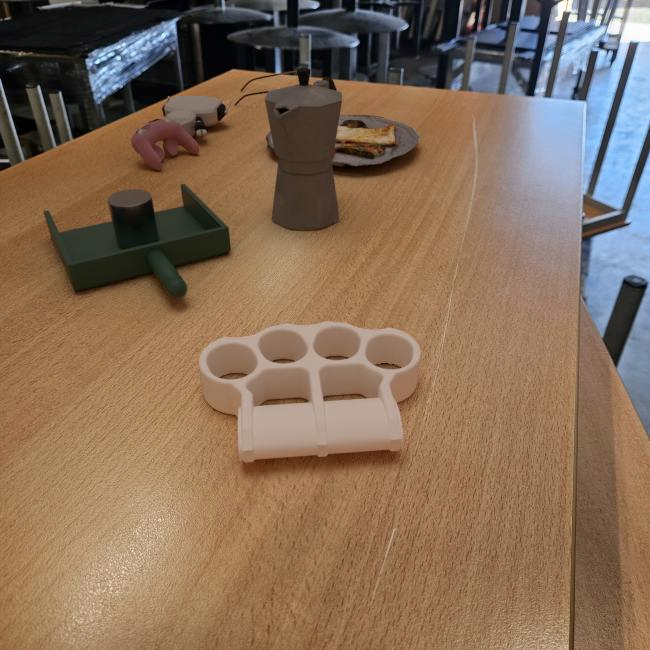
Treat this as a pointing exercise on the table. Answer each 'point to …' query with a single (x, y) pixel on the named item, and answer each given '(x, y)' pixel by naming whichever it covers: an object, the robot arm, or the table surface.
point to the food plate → (368, 140)
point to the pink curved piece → (171, 139)
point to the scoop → (143, 247)
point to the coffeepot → (304, 152)
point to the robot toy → (194, 112)
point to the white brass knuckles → (312, 388)
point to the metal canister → (133, 218)
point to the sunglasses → (256, 79)
